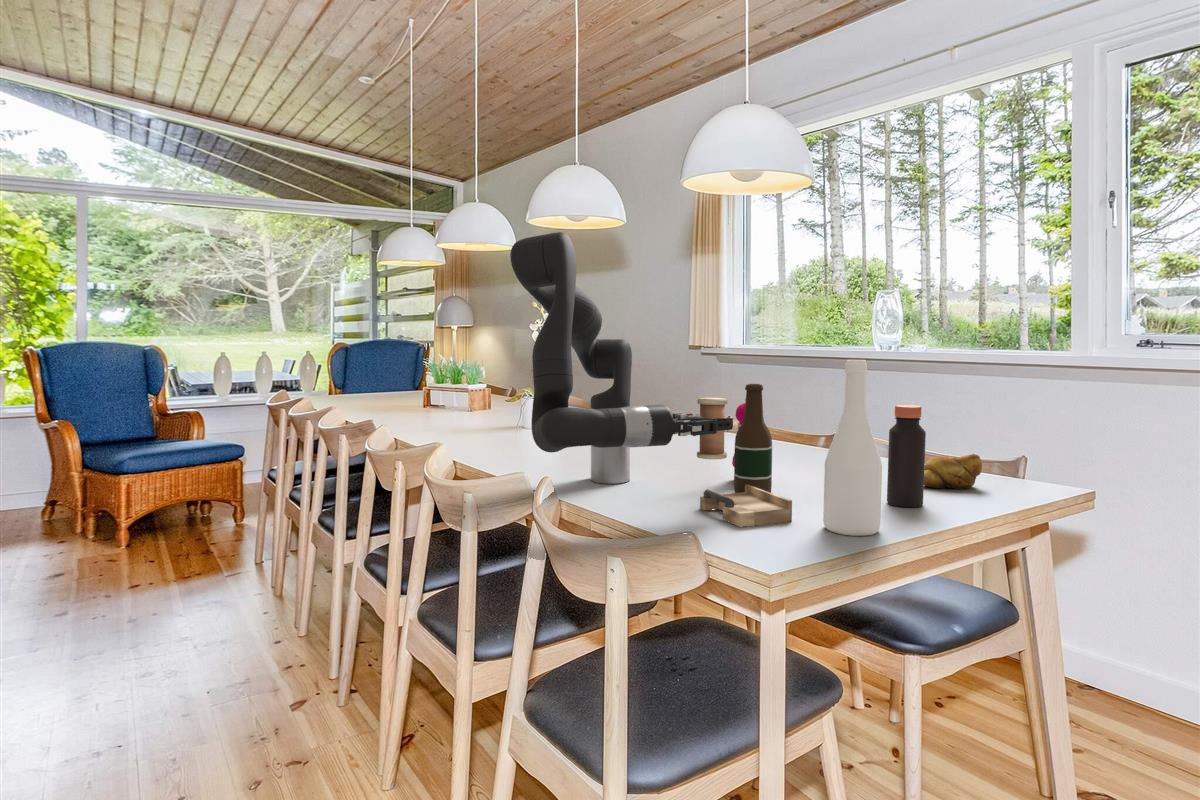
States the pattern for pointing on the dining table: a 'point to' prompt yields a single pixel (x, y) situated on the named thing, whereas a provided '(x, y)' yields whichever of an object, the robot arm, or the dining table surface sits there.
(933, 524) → the dining table surface
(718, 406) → the bobbin
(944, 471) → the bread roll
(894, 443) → the vinegar
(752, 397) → the beer bottle
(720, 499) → the wooden tray with handle
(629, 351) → the robot arm
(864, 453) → the wine bottle
